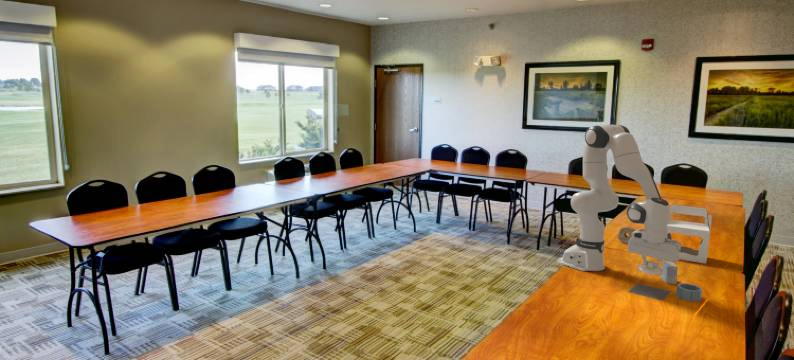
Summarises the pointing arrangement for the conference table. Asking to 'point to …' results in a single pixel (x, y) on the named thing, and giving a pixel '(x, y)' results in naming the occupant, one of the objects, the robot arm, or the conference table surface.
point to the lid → (650, 268)
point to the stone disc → (623, 236)
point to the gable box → (691, 232)
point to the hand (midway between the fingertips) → (650, 266)
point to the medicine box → (669, 272)
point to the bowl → (689, 292)
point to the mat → (650, 291)
